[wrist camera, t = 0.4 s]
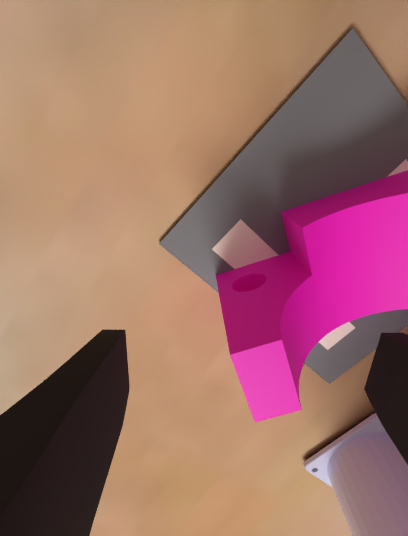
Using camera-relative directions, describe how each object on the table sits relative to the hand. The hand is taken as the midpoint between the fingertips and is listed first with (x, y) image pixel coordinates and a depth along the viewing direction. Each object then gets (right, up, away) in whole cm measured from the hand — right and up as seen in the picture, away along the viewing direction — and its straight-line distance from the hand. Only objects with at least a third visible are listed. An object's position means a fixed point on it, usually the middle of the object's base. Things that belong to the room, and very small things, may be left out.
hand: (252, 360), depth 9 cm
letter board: (+7, +4, +10) cm, 12 cm away
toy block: (+7, +4, +10) cm, 12 cm away
